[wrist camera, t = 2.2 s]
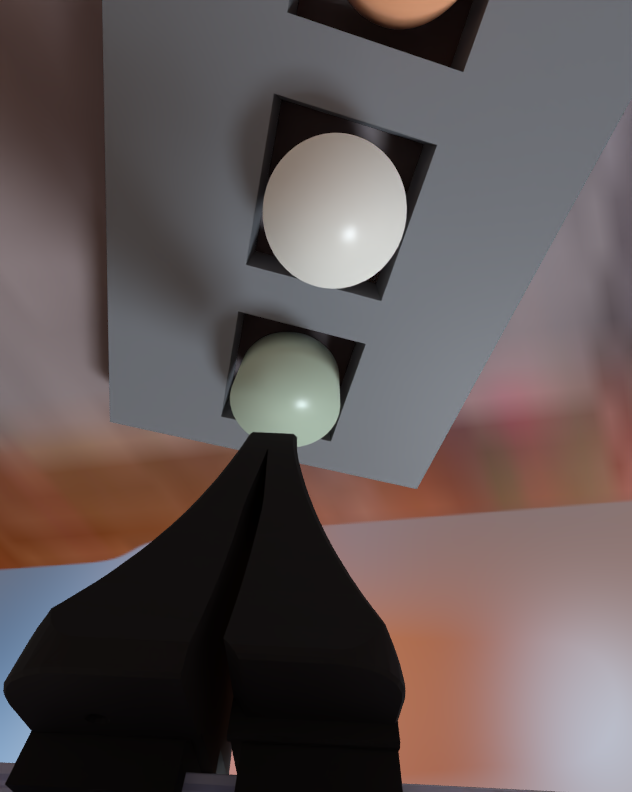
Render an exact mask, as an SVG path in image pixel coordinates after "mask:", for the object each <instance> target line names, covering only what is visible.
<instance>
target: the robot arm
mask: <svg viewBox="0 0 632 792" xmlns="http://www.w3.org/2000/svg"><path fill="white" fill-rule="evenodd" d="M3 691H4V695H5V697H6V699H7V701H8V703H9V704H10V706H11V707H12V708H13V709H14V710H15V711H16V713H17V714H18V715H19V716H20V717H21V719H22V720H23V721H24V722H25V723H26V725H27V726H28V727H29V728H30V729H31V730H32V731H31V733H30V735H29V737H28V739H27V741H26V743H25V745H24V747H23V749H22V751H21V753H20V755H19V757H18V759H17V761H16V763H0V792H552V791H534V790H514V789H496V788H476V787H457V786H439V785H420V784H402V781H401V771H400V762H399V753H398V750H399V749H400V737H399V728H398V718H399V715H400V712H401V709H402V706H403V703H404V700H405V683H404V678H403V674H402V670H401V667H400V663H399V660H398V657H397V654H396V651H395V648H394V645H393V643H392V640H391V638H390V635H389V633H388V630H387V628H386V625H385V624H384V622H383V621H382V619H381V618H380V617H379V615H378V614H377V613H376V612H375V610H374V609H373V608H372V606H371V605H370V604H369V602H368V601H367V600H366V598H365V597H364V596H363V594H362V593H361V591H360V590H359V589H358V587H357V586H356V584H355V583H354V581H353V580H352V578H351V577H350V575H349V573H348V572H347V570H346V569H345V567H344V566H343V564H342V562H341V560H340V559H339V557H338V555H337V554H336V552H335V551H334V549H333V547H332V545H331V544H330V541H329V539H328V538H327V536H326V534H325V532H324V529H323V527H322V525H321V523H320V521H319V519H318V517H317V514H316V512H315V510H314V507H313V505H312V502H311V500H310V497H309V494H308V491H307V488H306V485H305V482H304V479H303V475H302V472H301V468H300V464H299V459H298V453H297V437H296V436H295V435H294V434H287V433H264V432H252V433H251V434H250V435H249V436H248V437H247V439H246V441H245V442H244V444H243V445H242V446H241V448H240V449H239V451H238V452H237V453H236V455H235V456H234V458H233V459H232V460H231V462H230V463H229V464H228V465H227V467H226V468H225V469H224V470H223V472H222V473H221V474H220V475H219V476H218V478H217V479H216V480H215V481H214V482H213V484H212V485H211V486H210V487H209V488H208V489H207V490H206V491H205V492H204V493H203V495H202V496H201V497H200V498H199V499H198V500H197V501H196V502H195V503H194V504H193V505H192V506H191V507H190V508H189V509H188V510H187V511H186V512H185V513H184V514H183V515H182V516H181V517H180V518H179V519H178V520H176V521H175V522H174V523H173V524H172V525H171V526H170V527H169V528H167V529H166V530H165V531H164V532H163V533H162V534H160V535H159V536H158V537H157V538H156V539H154V540H153V541H152V542H151V543H150V544H148V545H147V546H146V547H145V548H143V549H142V550H141V551H139V552H138V553H137V554H135V555H134V556H132V557H131V558H130V559H128V560H127V561H125V562H124V563H123V564H121V565H120V566H119V567H117V568H116V569H115V570H113V571H112V572H110V573H109V574H107V575H106V576H104V577H103V578H101V579H100V580H98V581H97V582H95V583H93V584H92V585H90V586H88V587H87V588H85V589H83V590H82V591H80V592H78V593H77V594H75V595H73V596H72V597H70V598H68V599H67V600H65V601H64V602H62V603H60V604H58V605H57V606H55V607H53V608H51V610H50V611H49V613H48V614H47V616H46V617H45V618H44V620H43V621H42V622H41V624H40V625H39V627H38V628H37V629H36V631H35V632H34V634H33V636H32V637H31V639H30V640H29V642H28V644H27V645H26V647H25V649H24V650H23V652H22V654H21V655H20V657H19V659H18V660H17V662H16V664H15V665H14V667H13V669H12V670H11V672H10V674H9V675H8V677H7V679H6V680H5V682H4V690H3ZM232 751H233V756H234V761H235V766H236V771H237V775H229V768H230V760H231V752H232Z"/></svg>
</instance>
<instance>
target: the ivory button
mask: <svg viewBox="0 0 632 792" xmlns="http://www.w3.org/2000/svg"><path fill="white" fill-rule="evenodd" d="M406 214H407V204H406V195H405V190H404V186H403V183H402V180H401V178H400V175H399V173H398V171H397V169H396V168H395V166H394V165H393V163H392V162H391V160H390V159H389V158H388V157H387V156H386V155H385V153H384V152H383V151H381V150H380V149H379V148H378V147H377V146H375V145H374V144H372V143H371V142H369V141H367V140H365V139H363V138H360V137H358V136H355V135H351V134H346V133H326V134H321V135H317V136H314V137H312V138H309V139H307V140H305V141H303V142H301V143H300V144H298V145H296V146H295V147H294V148H293V149H291V150H290V151H289V152H288V153H287V154H286V155H285V156H284V157H283V158H282V159H281V160H280V162H279V163H278V165H277V166H276V168H275V169H274V171H273V173H272V175H271V177H270V179H269V182H268V184H267V187H266V191H265V195H264V201H263V223H264V229H265V233H266V237H267V240H268V243H269V245H270V247H271V249H272V251H273V253H274V255H275V256H276V258H277V259H278V261H279V262H280V263H281V264H282V265H283V266H284V268H285V269H286V270H287V271H289V272H290V273H291V274H292V275H293V276H295V277H297V278H298V279H300V280H301V281H303V282H305V283H308V284H310V285H313V286H316V287H321V288H330V289H337V288H345V287H350V286H353V285H357V284H359V283H361V282H363V281H366V280H367V279H369V278H371V277H372V276H374V275H375V274H376V273H377V272H379V271H380V270H381V269H382V268H383V267H384V266H385V265H386V264H387V263H388V261H389V260H390V259H391V257H392V256H393V255H394V253H395V251H396V249H397V248H398V246H399V243H400V241H401V238H402V235H403V232H404V229H405V223H406Z"/></svg>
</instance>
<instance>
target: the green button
mask: <svg viewBox="0 0 632 792" xmlns="http://www.w3.org/2000/svg"><path fill="white" fill-rule="evenodd" d="M230 405H231V410H232V412H233V415H234V417H235V419H236V421H237V422H238V424H239V425H240V426H241V427H242V428H243V430H244V431H245V432H247V433H248V434H249V435H250V434H251V433H252V432H264V433H287V434H294V435H295V436H296V437H297V447H301V446H305V445H308V444H311V443H313V442H315V441H317V440H319V439H321V438H322V437H324V436H325V435H326V434H327V433H328V432H329V431H330V430H331V429H332V427H333V426H334V424H335V423H336V421H337V418H338V415H339V412H340V382H339V369H338V365H337V363H336V360H335V358H334V356H333V355H332V353H331V352H330V351H329V350H328V349H327V348H326V346H324V345H323V344H322V343H321V342H319V341H318V340H316V339H315V338H313V337H310V336H308V335H305V334H302V333H297V332H277V333H273V334H270V335H267V336H265V337H263V338H261V339H259V340H258V341H256V342H255V343H254V344H253V345H252V346H251V347H250V348H249V349H248V351H247V352H246V354H245V356H244V358H243V360H242V363H241V365H240V368H239V370H238V373H237V375H236V377H235V380H234V382H233V385H232V388H231V392H230Z"/></svg>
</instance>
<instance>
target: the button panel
mask: <svg viewBox="0 0 632 792" xmlns="http://www.w3.org/2000/svg"><path fill="white" fill-rule="evenodd" d="M298 2H299V0H102V21H103V75H104V128H105V182H106V236H107V289H108V343H109V396H110V422H113V423H118V424H122V425H127V426H131V427H136V428H141V429H145V430H150V431H154V432H159V433H163V434H168V435H173V436H177V437H182V438H186V439H191V440H195V441H200V442H205V443H209V444H214V445H218V446H223V447H227V448H232V449H237V450H239V449H240V448H241V446H242V445H243V444H244V442H245V441H246V439H247V437H248V436H249V434H248V433H247V432H245V431H244V430H243V428H242V427H241V426H240V425H239V424H238V422H237V421H236V419H235V417H234V415H233V412H232V410H231V405H230V392H231V388H232V383H233V378H234V372H235V366H236V360H237V354H238V349H239V343H240V337H241V331H242V326H243V320H244V314H245V313H247V314H251V315H255V316H258V317H262V318H266V319H270V320H274V321H278V322H282V323H286V324H290V325H294V326H298V327H302V328H305V329H309V330H313V331H317V332H321V333H325V334H329V335H333V336H337V337H341V338H345V339H348V340H352V341H356V344H355V347H354V350H353V353H352V356H351V358H350V361H349V364H348V367H347V370H346V373H345V376H344V379H343V382H342V385H341V388H340V412H339V415H338V418H337V421H336V423H335V424H334V426H333V427H332V429H331V430H330V431H329V432H328V433H327V434H326V435H325V436H324V437H322V438H321V439H319V440H317V441H315V442H313V443H311V444H308V445H305V446H301V447H297V453H298V459H299V463H301V464H305V465H310V466H314V467H319V468H323V469H328V470H332V471H337V472H342V473H346V474H351V475H355V476H360V477H364V478H369V479H374V480H378V481H383V482H387V483H392V484H396V485H401V486H406V487H410V488H415V489H417V488H418V486H419V484H420V482H421V480H422V479H423V477H424V475H425V473H426V471H427V469H428V468H429V466H430V464H431V462H432V460H433V459H434V457H435V455H436V453H437V451H438V449H439V448H440V446H441V444H442V442H443V440H444V439H445V437H446V435H447V433H448V431H449V429H450V428H451V426H452V424H453V422H454V420H455V419H456V417H457V415H458V413H459V411H460V409H461V408H462V406H463V404H464V402H465V400H466V399H467V397H468V395H469V393H470V391H471V389H472V388H473V386H474V384H475V382H476V380H477V378H478V377H479V375H480V373H481V371H482V369H483V368H484V366H485V364H486V362H487V360H488V358H489V357H490V355H491V353H492V351H493V349H494V348H495V346H496V344H497V342H498V340H499V338H500V337H501V335H502V333H503V331H504V329H505V328H506V326H507V324H508V322H509V320H510V318H511V317H512V315H513V313H514V311H515V309H516V308H517V306H518V304H519V302H520V300H521V298H522V297H523V295H524V293H525V291H526V289H527V288H528V286H529V284H530V282H531V280H532V278H533V277H534V275H535V273H536V271H537V269H538V268H539V266H540V264H541V262H542V260H543V258H544V257H545V255H546V253H547V251H548V249H549V248H550V246H551V244H552V242H553V240H554V238H555V237H556V235H557V233H558V231H559V229H560V228H561V226H562V224H563V222H564V220H565V218H566V217H567V215H568V213H569V211H570V209H571V208H572V206H573V204H574V202H575V200H576V198H577V197H578V195H579V193H580V191H581V189H582V188H583V186H584V184H585V182H586V180H587V178H588V177H589V175H590V173H591V171H592V169H593V168H594V166H595V164H596V162H597V160H598V158H599V157H600V155H601V153H602V151H603V149H604V147H605V146H606V144H607V142H608V140H609V138H610V137H611V135H612V133H613V131H614V129H615V127H616V126H617V124H618V122H619V120H620V118H621V117H622V115H623V113H624V111H625V109H626V107H627V106H628V104H629V102H630V100H631V98H632V0H473V3H472V6H471V9H470V12H469V15H468V18H467V20H466V23H465V26H464V29H463V32H462V35H461V38H460V41H459V44H458V47H457V50H456V52H455V55H454V58H453V61H452V64H451V67H447V66H444V65H441V64H438V63H435V62H432V61H429V60H426V59H423V58H420V57H417V56H414V55H411V54H408V53H405V52H402V51H399V50H397V49H394V48H391V47H388V46H385V45H382V44H379V43H376V42H373V41H370V40H367V39H364V38H361V37H358V36H355V35H352V34H349V33H346V32H343V31H340V30H338V29H335V28H332V27H329V26H326V25H323V24H320V23H317V22H314V21H311V20H308V19H305V18H302V17H299V16H296V13H297V8H298ZM281 100H286V101H289V102H292V103H295V104H298V105H302V106H305V107H308V108H311V109H314V110H317V111H321V112H324V113H327V114H330V115H333V116H336V117H340V118H343V119H346V120H349V121H352V122H355V123H359V124H362V125H365V126H368V127H371V128H374V129H378V130H381V131H384V132H387V133H390V134H394V135H397V136H400V137H403V138H406V139H409V140H413V141H416V142H419V143H422V144H424V146H423V149H422V152H421V154H420V157H419V160H418V163H417V166H416V169H415V172H414V175H413V178H412V181H411V184H410V187H409V189H408V192H407V195H406V204H407V214H406V223H405V229H404V232H403V235H402V238H401V241H400V243H399V246H398V248H397V249H396V251H395V253H394V255H393V256H392V257H391V259H390V260H389V261H388V263H387V264H386V265H385V266H384V267H383V268H382V269H381V271H380V274H379V277H378V280H377V283H376V284H375V283H371V282H367V281H363V282H361V283H359V284H357V285H353V286H350V287H345V288H337V289H330V288H321V287H316V286H313V285H310V284H308V283H305V282H303V281H301V280H300V279H298V278H297V277H295V276H293V275H292V274H291V273H290V272H289V271H287V270H286V269H285V268H284V266H283V265H282V264H281V263H280V262H279V261H278V259H277V258H276V256H272V255H268V254H265V253H261V252H257V251H255V250H256V245H257V239H258V233H259V227H260V221H261V216H262V210H263V201H264V195H265V191H266V187H267V181H268V175H269V169H270V164H271V158H272V152H273V146H274V140H275V135H276V129H277V123H278V117H279V112H280V106H281Z"/></svg>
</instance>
